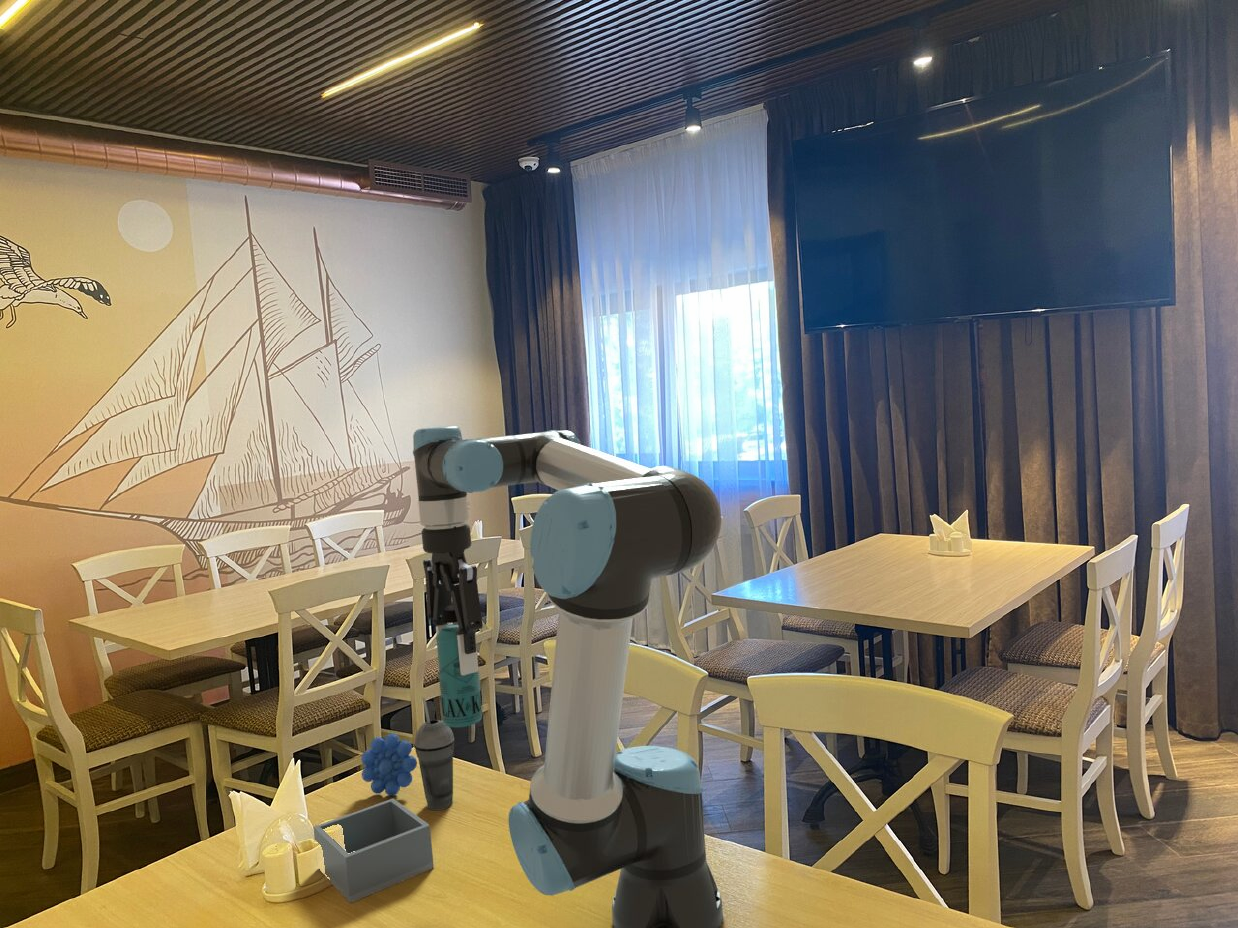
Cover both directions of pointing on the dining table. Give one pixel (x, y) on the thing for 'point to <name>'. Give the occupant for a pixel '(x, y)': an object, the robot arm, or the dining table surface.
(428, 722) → the beverage cup
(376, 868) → the crate
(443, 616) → the beverage bottle
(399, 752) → the grapes
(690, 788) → the robot arm
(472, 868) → the dining table surface
